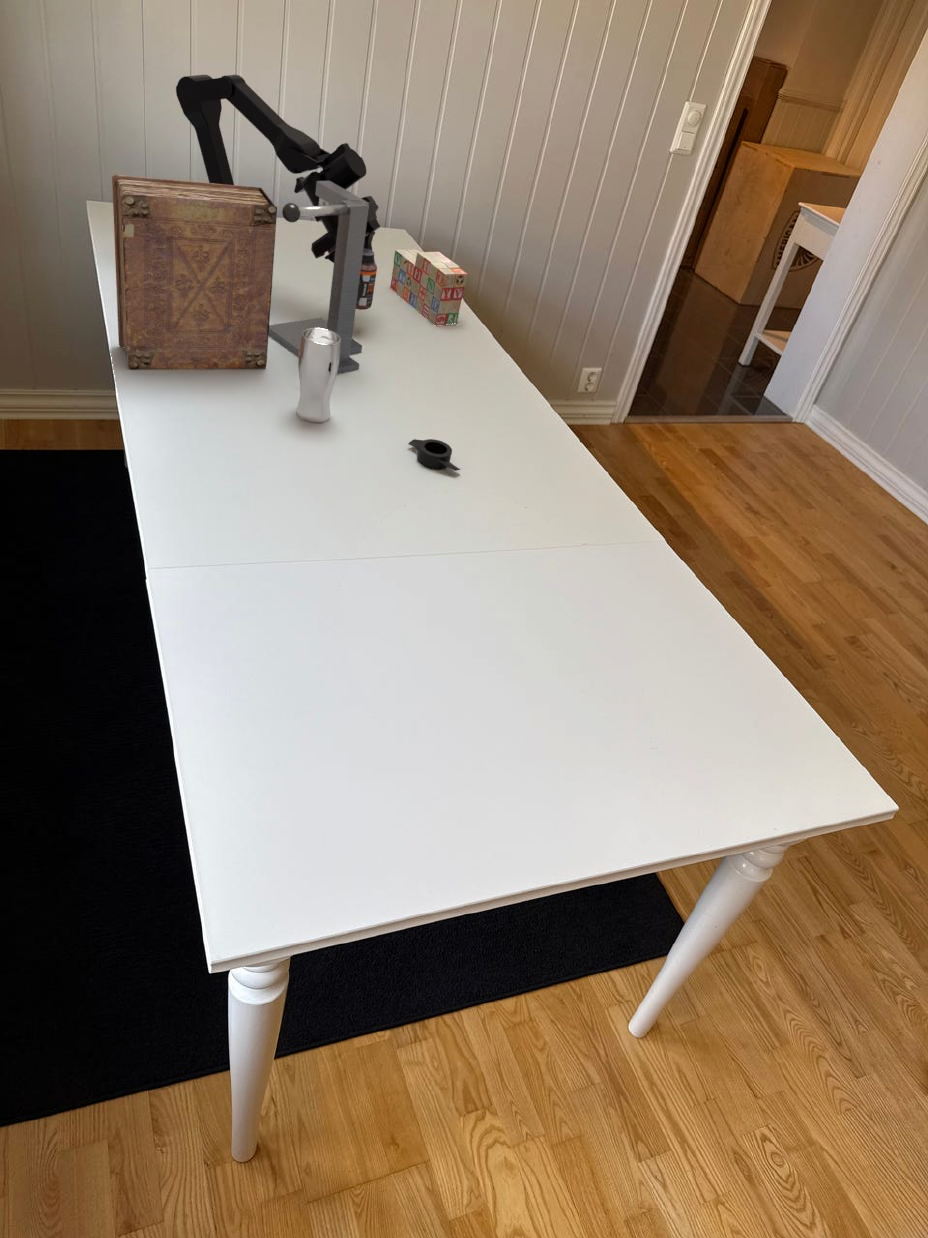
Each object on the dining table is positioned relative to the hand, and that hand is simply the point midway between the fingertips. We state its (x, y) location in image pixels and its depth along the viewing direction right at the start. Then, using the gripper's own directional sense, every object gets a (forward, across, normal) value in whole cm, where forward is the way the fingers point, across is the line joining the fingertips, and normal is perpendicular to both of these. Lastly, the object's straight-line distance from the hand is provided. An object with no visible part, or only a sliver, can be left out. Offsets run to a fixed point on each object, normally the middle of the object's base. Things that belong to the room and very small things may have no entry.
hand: (367, 276), depth 181 cm
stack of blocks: (+11, +26, +7) cm, 29 cm away
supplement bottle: (+4, 0, +6) cm, 7 cm away
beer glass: (+17, -38, 0) cm, 42 cm away
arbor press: (+7, -18, +11) cm, 22 cm away
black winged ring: (+34, -37, -17) cm, 53 cm away
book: (-2, -36, +20) cm, 41 cm away
